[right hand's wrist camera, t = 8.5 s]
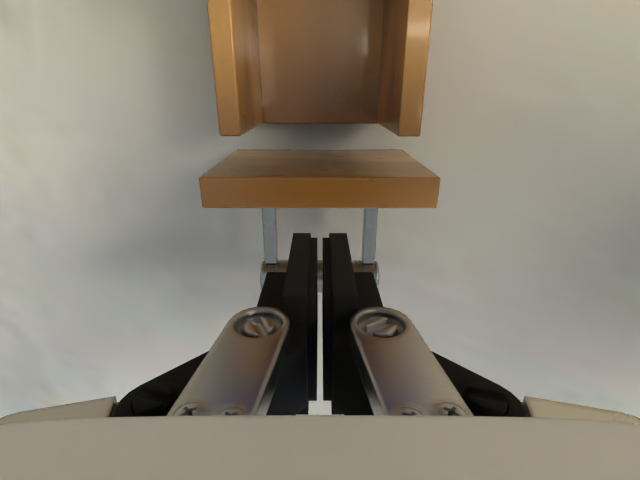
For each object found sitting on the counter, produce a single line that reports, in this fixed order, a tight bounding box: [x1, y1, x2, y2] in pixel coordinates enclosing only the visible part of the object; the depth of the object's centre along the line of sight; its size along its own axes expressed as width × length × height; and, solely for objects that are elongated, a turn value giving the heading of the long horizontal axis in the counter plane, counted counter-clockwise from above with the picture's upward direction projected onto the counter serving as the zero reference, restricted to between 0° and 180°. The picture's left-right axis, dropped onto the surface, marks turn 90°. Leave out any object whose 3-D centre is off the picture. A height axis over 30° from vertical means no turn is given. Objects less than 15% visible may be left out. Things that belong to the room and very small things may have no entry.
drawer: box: [199, 0, 440, 293], centre depth 15 cm, size 26×9×7 cm, turn 0°
